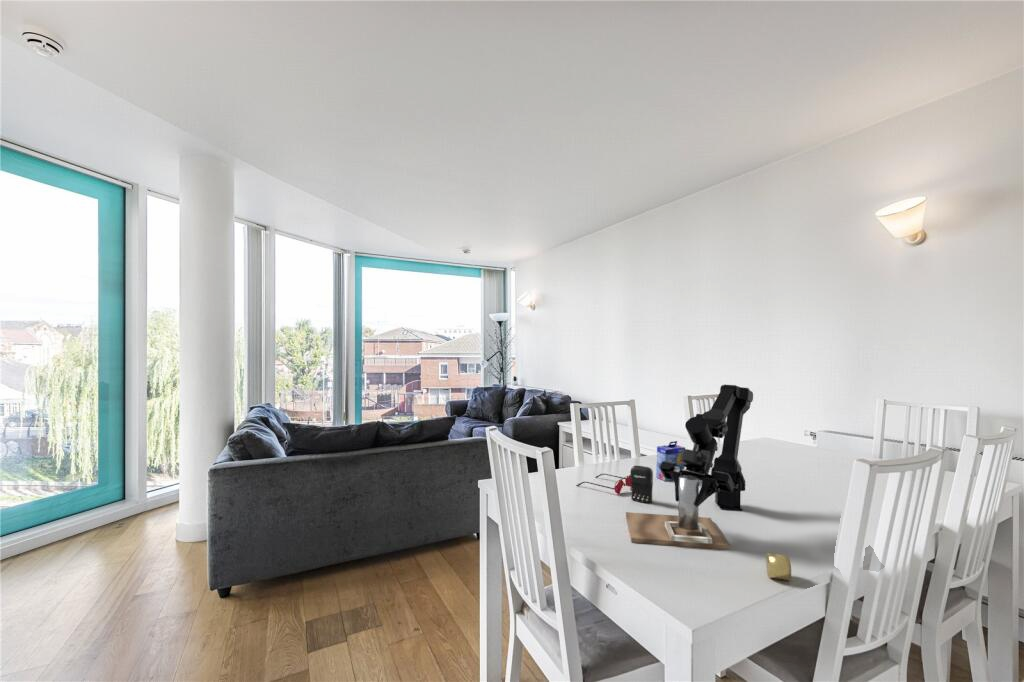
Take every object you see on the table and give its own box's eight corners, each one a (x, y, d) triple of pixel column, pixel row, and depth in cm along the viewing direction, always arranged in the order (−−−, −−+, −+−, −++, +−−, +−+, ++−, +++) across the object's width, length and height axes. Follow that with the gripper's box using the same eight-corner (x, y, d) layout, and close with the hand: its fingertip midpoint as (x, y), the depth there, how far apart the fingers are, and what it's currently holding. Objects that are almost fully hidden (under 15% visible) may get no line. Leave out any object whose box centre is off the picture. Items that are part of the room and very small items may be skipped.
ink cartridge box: (665, 481, 171) (666, 443, 171) (655, 477, 176) (655, 440, 176) (685, 478, 175) (685, 440, 175) (674, 474, 180) (675, 438, 180)
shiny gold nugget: (767, 579, 104) (787, 582, 103) (771, 575, 100) (792, 578, 99) (765, 555, 107) (784, 558, 105) (768, 551, 103) (789, 553, 101)
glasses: (617, 497, 155) (617, 482, 155) (575, 486, 166) (575, 473, 166) (635, 487, 166) (635, 473, 166) (595, 478, 177) (595, 465, 177)
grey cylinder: (691, 521, 126) (691, 474, 126) (702, 529, 121) (702, 480, 121) (674, 523, 125) (675, 475, 125) (685, 530, 120) (685, 481, 120)
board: (710, 521, 134) (710, 513, 134) (728, 549, 116) (728, 540, 116) (625, 516, 138) (625, 508, 138) (631, 542, 120) (631, 533, 120)
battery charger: (628, 500, 151) (629, 466, 151) (632, 497, 154) (632, 463, 154) (649, 505, 147) (650, 469, 147) (653, 501, 150) (653, 466, 150)
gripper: (662, 432, 132) (643, 479, 124) (730, 442, 119) (714, 495, 111) (674, 454, 138) (657, 500, 130) (740, 466, 125) (725, 518, 117)
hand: (686, 503), depth 122 cm, fingers closed on grey cylinder, 5 cm apart
